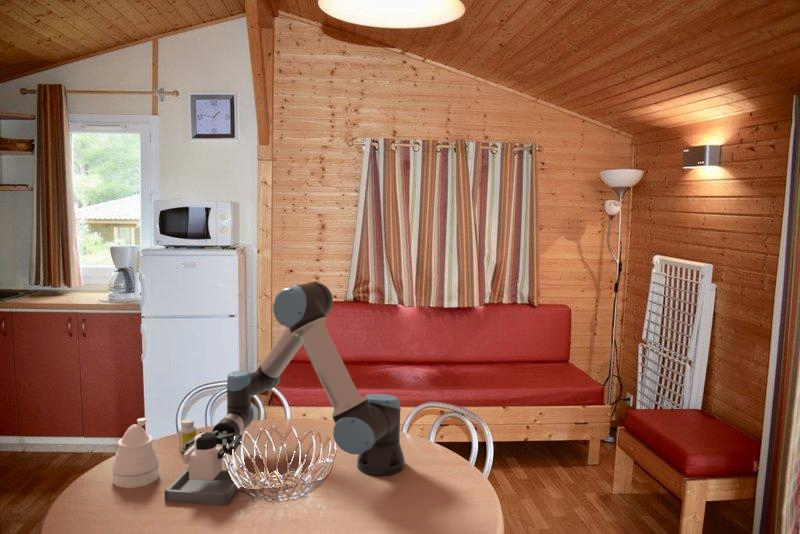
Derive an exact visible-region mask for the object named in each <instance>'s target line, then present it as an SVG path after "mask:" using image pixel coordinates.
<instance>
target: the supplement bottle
mask: <svg viewBox="0 0 800 534" xmlns="http://www.w3.org/2000/svg"><path fill="white" fill-rule="evenodd" d="M180 422H181V423H180V426H181V427H179V429H178V432H179V433H178V434H179V436H178V437H179V438H178V439H179V440H178V443H179V451H180V452H184V453H185V443H187V442H188V441H190V440H191V439H192V438H194V437H195V436H196V435H197V427H196V426H195V420H194V419H192V418H186V419H182V420H181V421H180Z"/></svg>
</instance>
